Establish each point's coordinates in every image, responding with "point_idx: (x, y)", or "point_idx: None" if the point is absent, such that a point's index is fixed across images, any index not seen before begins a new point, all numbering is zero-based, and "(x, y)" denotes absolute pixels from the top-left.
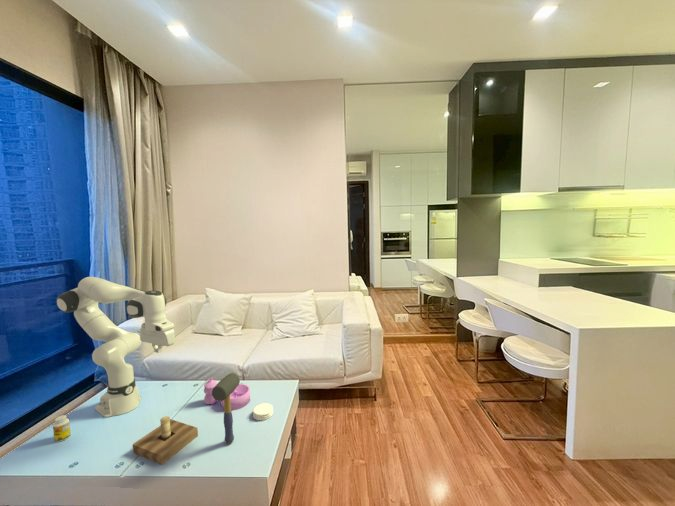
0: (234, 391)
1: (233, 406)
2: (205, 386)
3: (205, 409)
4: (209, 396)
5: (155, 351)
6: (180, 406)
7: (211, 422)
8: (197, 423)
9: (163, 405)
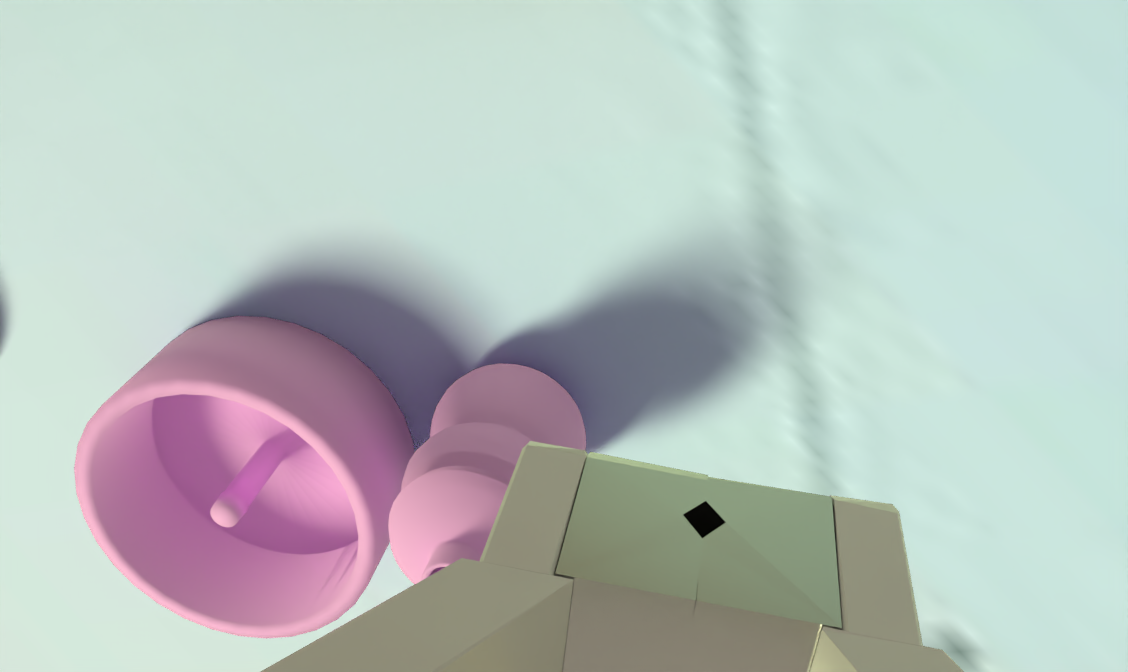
0: (228, 510)
1: (173, 345)
2: (480, 484)
3: (482, 286)
4: (473, 416)
5: (784, 508)
6: (820, 284)
7: (246, 107)
8: (375, 58)
9: (1068, 264)
